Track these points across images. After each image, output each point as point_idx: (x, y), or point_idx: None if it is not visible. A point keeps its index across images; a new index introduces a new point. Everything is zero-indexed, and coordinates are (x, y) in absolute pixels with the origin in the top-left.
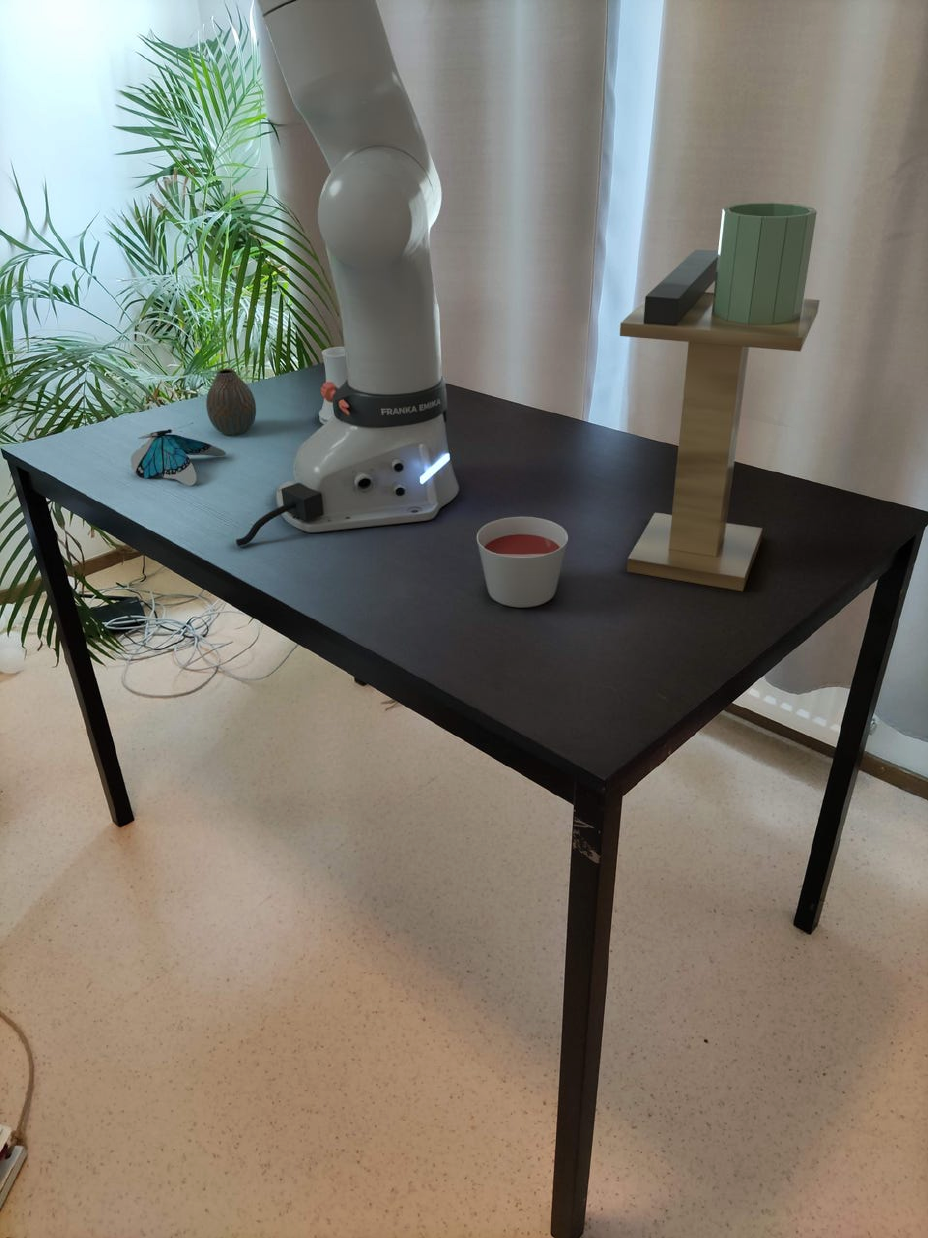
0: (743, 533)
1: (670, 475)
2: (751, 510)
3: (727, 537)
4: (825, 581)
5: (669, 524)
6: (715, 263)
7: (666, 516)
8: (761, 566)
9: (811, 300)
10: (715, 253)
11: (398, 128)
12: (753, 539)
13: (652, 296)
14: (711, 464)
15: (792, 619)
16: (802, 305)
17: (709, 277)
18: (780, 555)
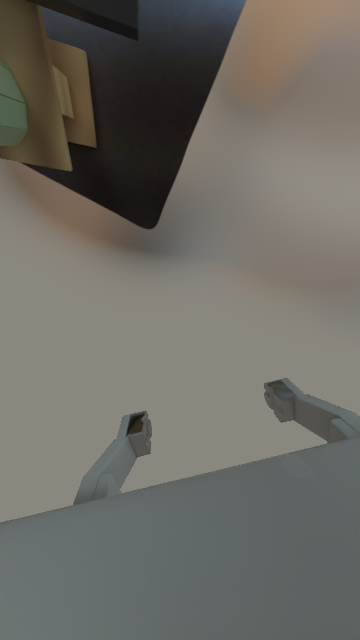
0: (83, 133)
1: (170, 68)
2: (132, 142)
3: (73, 121)
4: (71, 183)
5: (71, 67)
6: (85, 12)
7: (81, 63)
8: (69, 147)
9: (64, 163)
10: (117, 10)
11: None
12: (79, 140)
13: None
14: None
15: (25, 163)
16: (41, 152)
17: (51, 4)
18: (86, 159)
